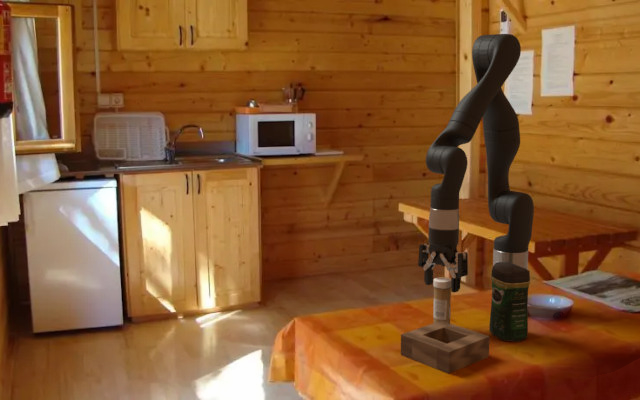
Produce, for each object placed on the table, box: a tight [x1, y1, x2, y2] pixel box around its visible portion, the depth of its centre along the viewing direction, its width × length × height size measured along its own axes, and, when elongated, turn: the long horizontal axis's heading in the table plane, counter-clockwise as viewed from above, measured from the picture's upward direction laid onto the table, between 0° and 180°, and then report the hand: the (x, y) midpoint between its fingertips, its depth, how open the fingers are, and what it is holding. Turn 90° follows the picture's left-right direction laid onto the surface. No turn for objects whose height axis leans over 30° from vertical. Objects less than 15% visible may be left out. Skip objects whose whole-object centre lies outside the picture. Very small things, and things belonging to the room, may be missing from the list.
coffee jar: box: [488, 262, 531, 342], centre depth 180 cm, size 10×8×19 cm
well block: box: [400, 321, 491, 375], centre depth 169 cm, size 14×14×5 cm
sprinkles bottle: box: [432, 276, 452, 324], centre depth 186 cm, size 5×5×14 cm
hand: (441, 288), depth 185 cm, fingers open, 8 cm apart
